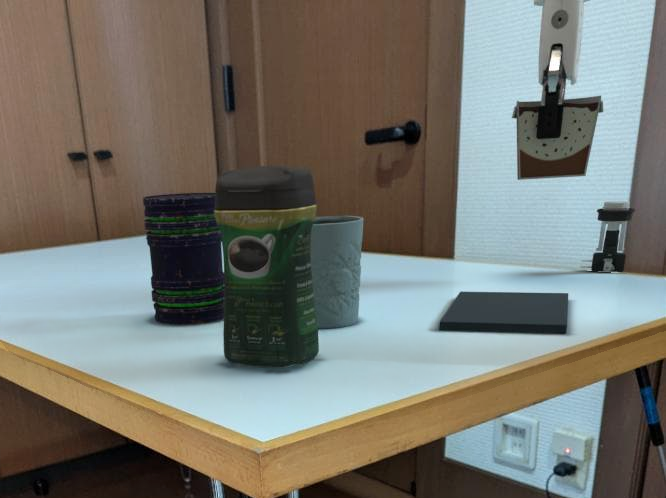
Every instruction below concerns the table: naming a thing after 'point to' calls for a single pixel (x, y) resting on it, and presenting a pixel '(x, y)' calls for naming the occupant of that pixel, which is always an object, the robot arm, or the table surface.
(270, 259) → the coffee jar
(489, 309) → the mat
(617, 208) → the black and grey device
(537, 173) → the food container
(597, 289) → the table surface
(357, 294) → the grey embossed cup
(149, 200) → the storage jar
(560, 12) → the robot arm
